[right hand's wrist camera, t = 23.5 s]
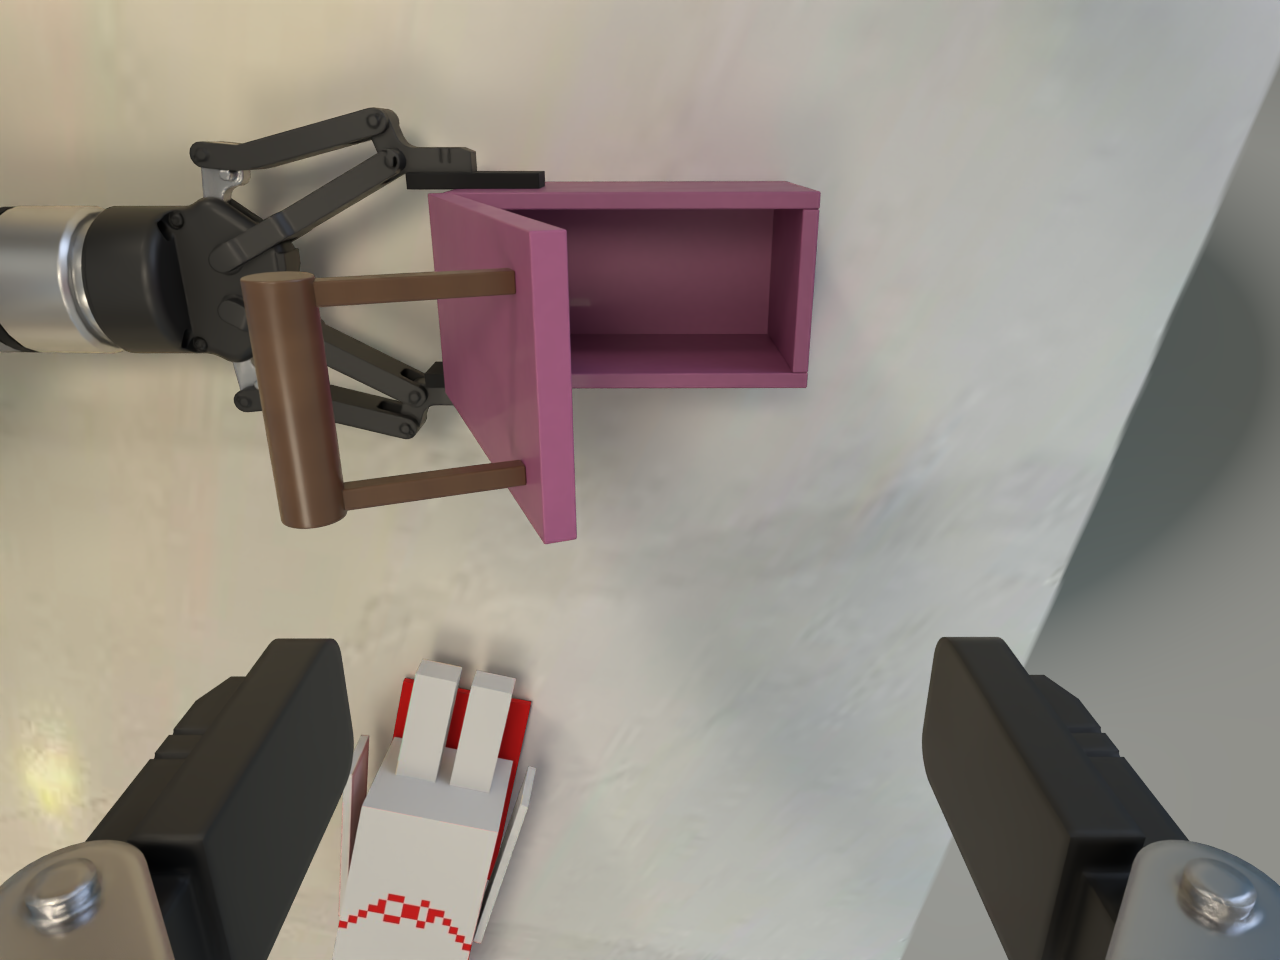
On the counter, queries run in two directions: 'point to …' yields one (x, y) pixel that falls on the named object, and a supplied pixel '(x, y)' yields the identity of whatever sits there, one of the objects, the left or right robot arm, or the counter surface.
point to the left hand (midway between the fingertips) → (545, 281)
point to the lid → (472, 362)
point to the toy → (432, 820)
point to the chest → (682, 279)
